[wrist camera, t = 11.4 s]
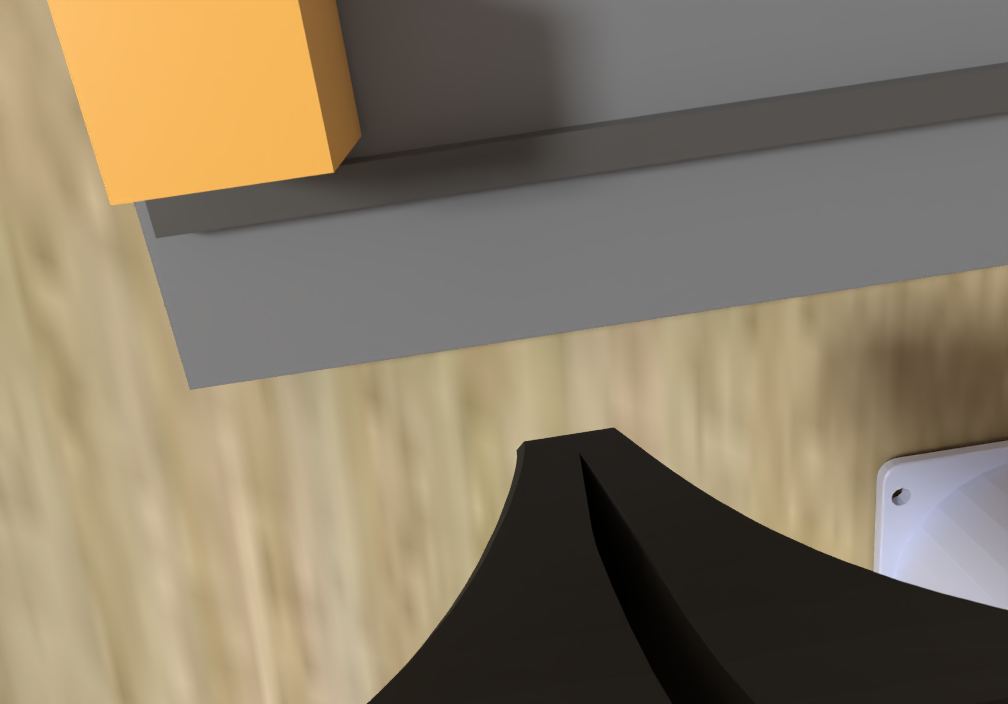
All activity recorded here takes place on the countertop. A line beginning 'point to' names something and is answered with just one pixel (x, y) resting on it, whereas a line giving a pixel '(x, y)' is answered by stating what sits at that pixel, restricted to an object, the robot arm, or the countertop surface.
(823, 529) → the countertop surface
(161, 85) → the knob
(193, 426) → the countertop surface
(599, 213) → the switch panel
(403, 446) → the countertop surface
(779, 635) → the robot arm
